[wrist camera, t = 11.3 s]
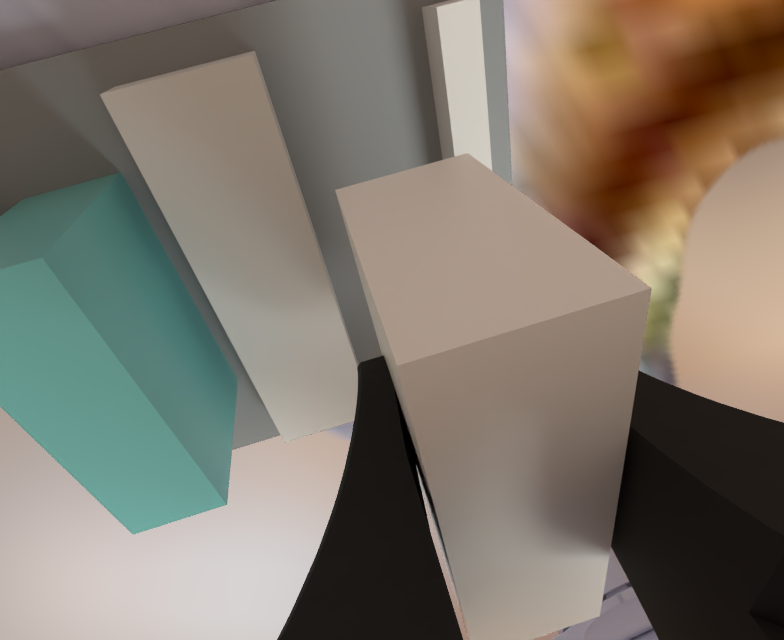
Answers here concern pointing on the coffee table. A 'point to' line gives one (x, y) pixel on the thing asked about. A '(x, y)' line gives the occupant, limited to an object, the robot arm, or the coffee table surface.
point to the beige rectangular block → (503, 384)
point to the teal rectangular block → (112, 356)
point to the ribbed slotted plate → (267, 165)
